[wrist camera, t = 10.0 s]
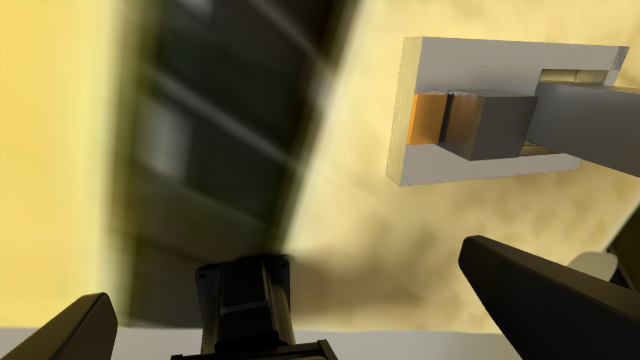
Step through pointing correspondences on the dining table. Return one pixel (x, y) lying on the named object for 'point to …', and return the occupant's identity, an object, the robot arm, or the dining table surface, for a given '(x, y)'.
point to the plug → (589, 123)
